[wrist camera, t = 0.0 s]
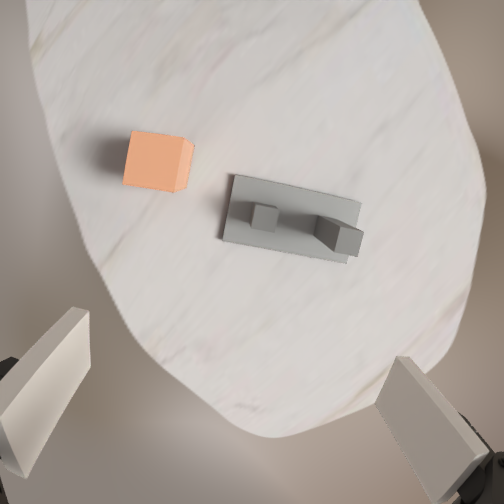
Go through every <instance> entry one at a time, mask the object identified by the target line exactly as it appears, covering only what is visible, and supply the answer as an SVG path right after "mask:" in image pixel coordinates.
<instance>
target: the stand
mask: <svg viewBox="0 0 504 504" xmlns="http://www.w3.org/2000/svg"><path fill="white" fill-rule="evenodd" d="M360 208H361V203H359V202H355V201H351V200H348V199H344V198H340V197H335V196H331V195H327V194H323V193H319V192H315V191H310V190H306V189H302V188H297V187H293V186H288V185H284V184H279V183H274V182H269V181H265V180H260V179H255V178H250V177H245V176H240V175H235V178H234V183H233V188H232V193H231V198H230V203H229V208H228V213H227V219H226V224H225V229H224V234H223V240H222V241H225V242H231V243H236V244H242V245H247V246H253V247H258V248H264V249H269V250H275V251H280V252H285V253H291V254H296V255H302V256H307V257H312V258H318V259H323V260H329V261H334V262H339V263H345V264H347V260H348V256H349V255H350V256H355V257H358V253H359V249H360V245H361V241H362V237H363V234H364V232H363V231H361V230H359V229H357V228H356V225H357V220H358V216H359V212H360Z"/></svg>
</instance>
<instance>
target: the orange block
mask: <svg viewBox="0 0 504 504" xmlns="http://www.w3.org/2000/svg"><path fill="white" fill-rule="evenodd" d="M194 146H195V145H193V144H192V143H191V142H189V141H188V140H187V139H186V138H183V137H176V136H169V135H162V134H155V133H147V132H138V131H132V133H131V138H130V143H129V148H128V154H127V159H126V165H125V171H124V177H123V183H122V184H123V185H130V186H136V187H143V188H149V189H155V190H161V191H168V192H177V191H180V190H182V189H185V188H186V187H187V181H188V176H189V171H190V166H191V160H192V155H193V150H194Z"/></svg>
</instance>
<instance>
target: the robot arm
mask: <svg viewBox="0 0 504 504" xmlns="http://www.w3.org/2000/svg"><path fill="white" fill-rule="evenodd" d="M89 343H90V341H89V311H88V310H84V309H80V308H76V307H72V308H71V309H69V310H68V311H67V312H66V313H65V314H64V315H63V316H62V317H61V318H60V319H59V320H58V321H57V322H56V323H55V324H54V325H53V326H52V327H51V328H50V329H49V330H48V331H47V332H46V333H45V334H44V335H43V336H42V337H41V338H40V339H39V340H38V341H37V342H36V343H35V344H34V345H33V347H31V349H29V351H28V352H27V353H26V354H25V355H24V356H23V357H22V358H21V359H20V360H18V359H16V358H13V357H10V358H8V359H6V360H3V361H1V362H0V459H1V460H2V462H3V464H4V466H5V468H6V469H7V470H9V471H11V472H13V473H15V474H17V475H19V476H21V477H23V478H25V479H27V477H28V475H29V473H30V471H31V469H32V467H33V465H34V463H35V462H36V460H37V457H38V456H39V454H40V452H41V450H42V449H43V447H44V445H45V443H46V441H47V439H48V438H49V436H50V434H51V432H52V431H53V429H54V427H55V425H56V423H57V422H58V420H59V418H60V417H61V415H62V413H63V411H64V409H65V408H66V406H67V405H68V403H69V401H70V399H71V398H72V396H73V395H74V393H75V391H76V389H77V388H78V386H79V385H80V383H81V381H82V380H83V378H84V377H85V375H86V373H87V372H88V370H89V369H90V367H91V363H90V344H89ZM375 405H376V407H377V409H378V410H379V412H380V414H381V415H382V417H383V419H384V421H385V422H386V424H387V425H388V427H389V429H390V430H391V433H392V434H393V436H394V438H395V439H396V441H397V443H398V445H399V446H400V448H401V450H402V452H403V453H404V455H405V457H406V459H407V460H408V462H409V464H410V466H411V467H412V469H413V471H414V473H415V475H416V476H417V478H418V480H419V481H420V483H421V485H422V487H423V489H424V491H425V492H426V494H427V496H428V498H429V499H430V501H431V503H432V504H440V503H442V502H446V501H448V500H449V499H450V498H451V497H452V496H453V494H454V493H455V492H456V491H457V492H458V493H459V495H460V496H459V497H458V498H457V499H456V500H455V501H454V502H453V503H452V504H504V452H497V453H496V454H495V453H494V451H493V450H492V449H491V448H490V447H489V445H488V444H487V443H486V442H485V441H484V439H483V438H482V437H481V436H480V435H479V433H476V430H475V429H474V427H473V426H471V424H470V422H469V421H468V420H467V419H466V418H465V417H464V416H463V415H461V414H460V413H459V412H457V411H456V410H455V409H454V407H453V406H452V405H451V404H450V403H449V402H448V401H447V399H446V398H445V397H444V396H443V395H442V393H441V392H440V391H439V390H438V389H437V388H436V386H435V385H434V384H433V383H432V382H431V381H430V380H429V378H428V377H427V376H426V375H425V374H424V373H423V372H422V371H421V369H420V368H419V367H418V366H417V365H416V364H415V363H414V362H413V360H412V359H411V358H410V357H399V356H396V358H395V361H394V363H393V365H392V368H391V370H390V372H389V374H388V376H387V379H386V381H385V383H384V385H383V387H382V389H381V391H380V393H379V396H378V398H377V400H376V402H375ZM0 504H9V503H8V500H7V497H6V494H5V491H4V488H3V484H2V481H1V478H0Z"/></svg>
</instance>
